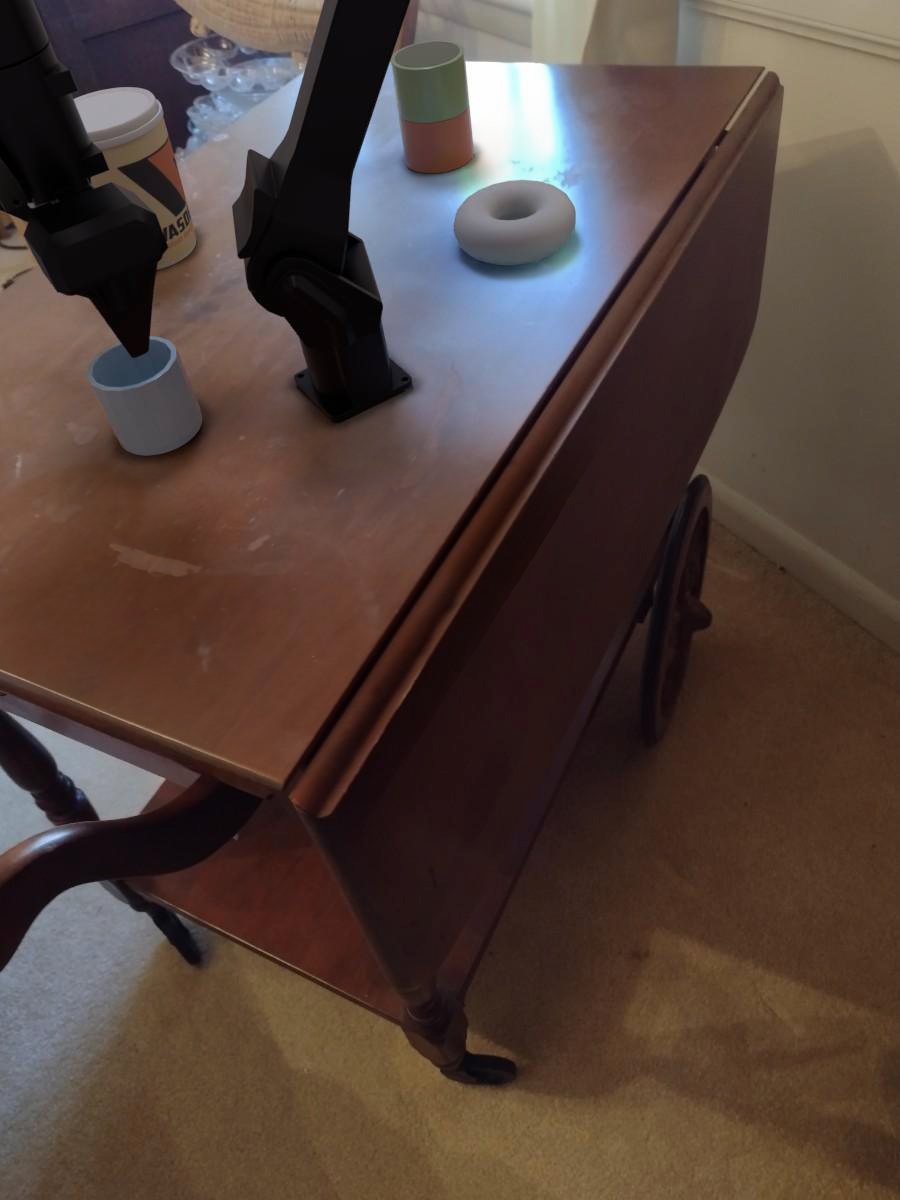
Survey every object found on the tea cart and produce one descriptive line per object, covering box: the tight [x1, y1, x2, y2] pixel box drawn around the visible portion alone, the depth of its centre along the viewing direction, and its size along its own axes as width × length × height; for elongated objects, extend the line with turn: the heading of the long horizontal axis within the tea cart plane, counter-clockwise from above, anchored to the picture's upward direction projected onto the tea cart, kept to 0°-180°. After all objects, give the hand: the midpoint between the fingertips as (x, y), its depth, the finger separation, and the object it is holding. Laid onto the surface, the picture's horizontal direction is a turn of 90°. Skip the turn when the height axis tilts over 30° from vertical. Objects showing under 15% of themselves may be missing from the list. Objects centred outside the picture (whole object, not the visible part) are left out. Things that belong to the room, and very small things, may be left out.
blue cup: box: [85, 335, 204, 457], centre depth 62 cm, size 6×6×6 cm
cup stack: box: [390, 39, 475, 174], centre depth 84 cm, size 7×7×9 cm
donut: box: [453, 179, 577, 266], centre depth 74 cm, size 10×4×10 cm
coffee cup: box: [73, 86, 197, 271], centre depth 77 cm, size 9×9×12 cm
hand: (115, 323), depth 58 cm, fingers open, 9 cm apart
